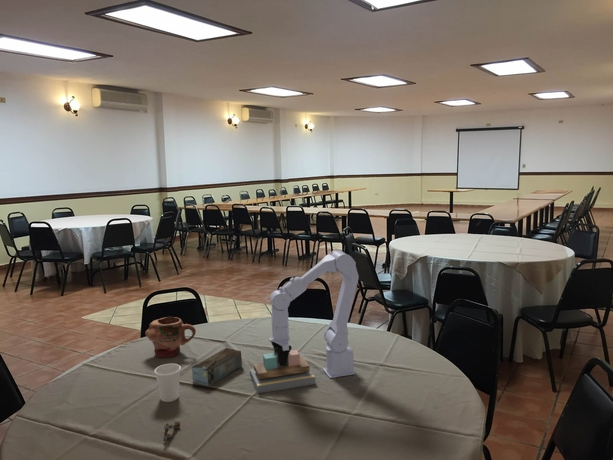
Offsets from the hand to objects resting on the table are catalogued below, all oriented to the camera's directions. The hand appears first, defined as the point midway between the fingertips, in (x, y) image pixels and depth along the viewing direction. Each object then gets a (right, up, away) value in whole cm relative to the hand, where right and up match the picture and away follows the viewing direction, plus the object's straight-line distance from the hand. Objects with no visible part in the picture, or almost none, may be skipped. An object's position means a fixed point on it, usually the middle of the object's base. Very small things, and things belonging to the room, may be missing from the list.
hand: (281, 362), depth 170 cm
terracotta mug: (-45, -4, +27) cm, 53 cm away
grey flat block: (0, -6, +1) cm, 6 cm away
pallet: (0, -3, 0) cm, 3 cm away
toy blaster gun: (-29, -12, -31) cm, 45 cm away
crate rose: (+4, -1, +1) cm, 4 cm away
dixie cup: (-36, -9, -10) cm, 39 cm away
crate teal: (-4, -1, -1) cm, 4 cm away
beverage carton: (-23, -6, +7) cm, 25 cm away
